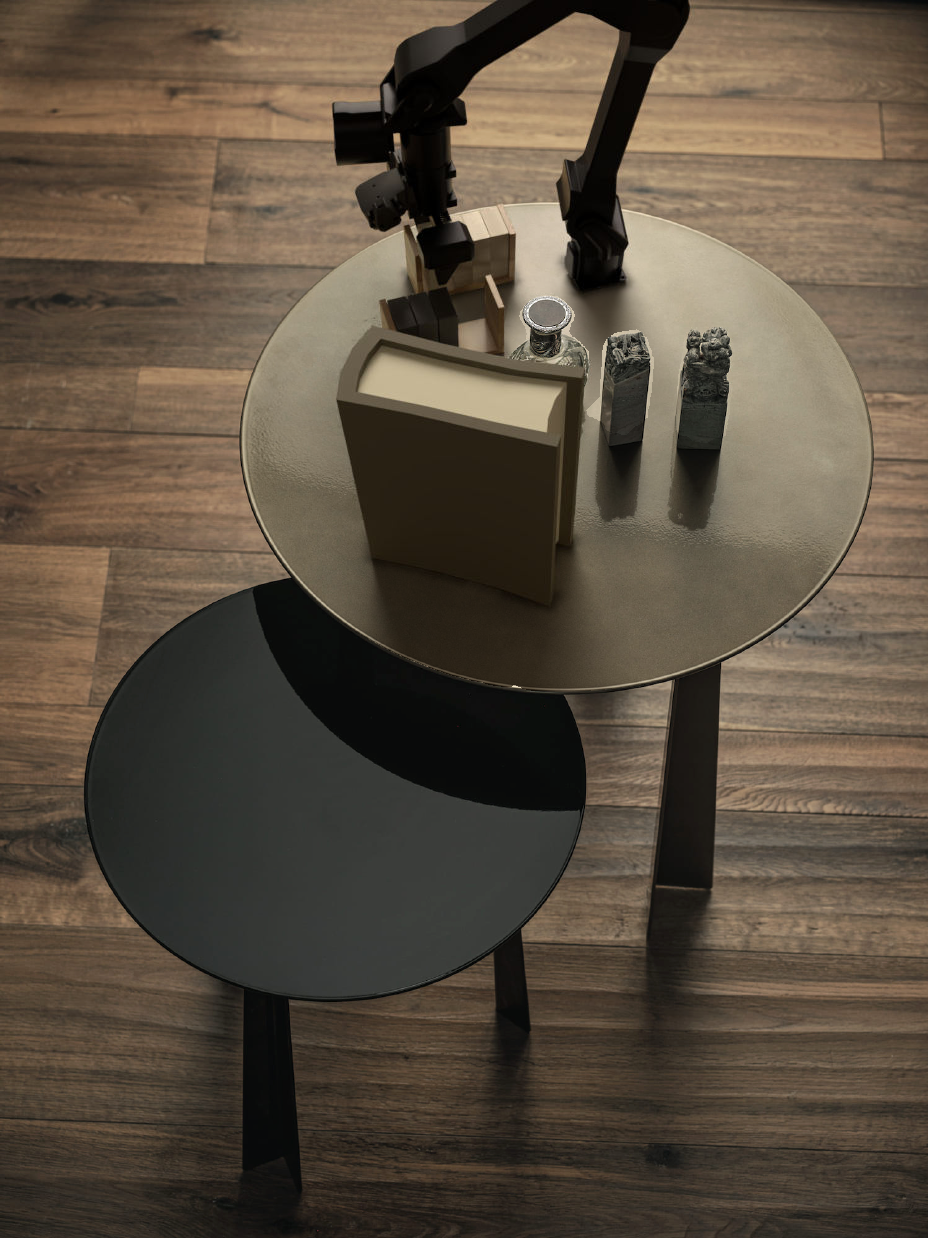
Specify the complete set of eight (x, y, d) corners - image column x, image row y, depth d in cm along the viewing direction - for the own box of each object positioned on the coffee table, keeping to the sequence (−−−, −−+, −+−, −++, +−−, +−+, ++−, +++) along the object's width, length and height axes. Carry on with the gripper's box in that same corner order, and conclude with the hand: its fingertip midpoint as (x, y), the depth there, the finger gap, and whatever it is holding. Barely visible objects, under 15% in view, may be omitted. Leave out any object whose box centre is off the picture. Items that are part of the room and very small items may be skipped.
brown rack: (501, 251, 145) (502, 203, 138) (514, 280, 142) (516, 233, 135) (407, 272, 143) (403, 225, 136) (418, 302, 141) (414, 256, 134)
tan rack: (490, 320, 139) (491, 274, 132) (504, 352, 136) (504, 306, 130) (384, 345, 137) (378, 299, 130) (395, 378, 135) (390, 333, 128)
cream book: (437, 262, 143) (435, 220, 137) (448, 289, 141) (446, 247, 134) (420, 266, 143) (417, 224, 136) (430, 293, 140) (427, 251, 134)
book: (365, 558, 123) (326, 393, 99) (394, 493, 127) (363, 319, 103) (549, 606, 119) (557, 446, 94) (572, 537, 123) (585, 367, 99)
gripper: (339, 117, 128) (353, 223, 142) (378, 224, 120) (389, 325, 133) (430, 98, 130) (435, 205, 143) (475, 202, 121) (476, 305, 135)
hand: (432, 258), depth 139 cm, fingers open, 9 cm apart
